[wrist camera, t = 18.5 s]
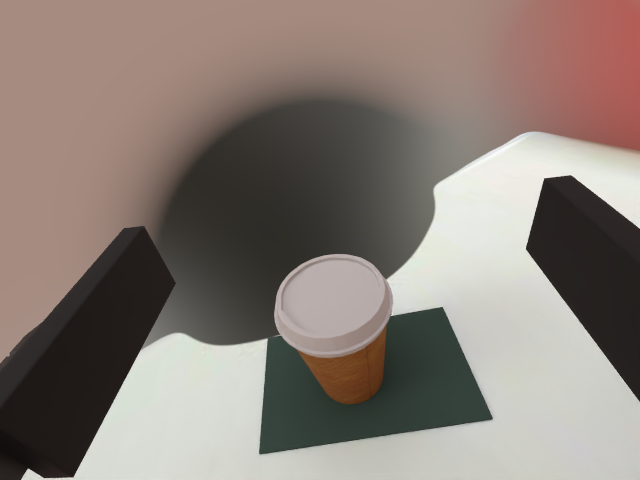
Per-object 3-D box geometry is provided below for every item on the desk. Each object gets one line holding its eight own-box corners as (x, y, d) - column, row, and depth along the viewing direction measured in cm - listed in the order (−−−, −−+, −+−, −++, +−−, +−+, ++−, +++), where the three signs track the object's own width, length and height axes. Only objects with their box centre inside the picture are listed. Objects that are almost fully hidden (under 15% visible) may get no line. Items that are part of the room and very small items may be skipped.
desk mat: (442, 308, 38) (442, 307, 37) (492, 419, 28) (492, 418, 28) (268, 339, 39) (267, 338, 39) (259, 454, 30) (259, 453, 30)
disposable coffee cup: (302, 341, 38) (271, 263, 30) (387, 324, 37) (376, 240, 30) (307, 432, 30) (267, 356, 23) (413, 412, 30) (407, 328, 22)
